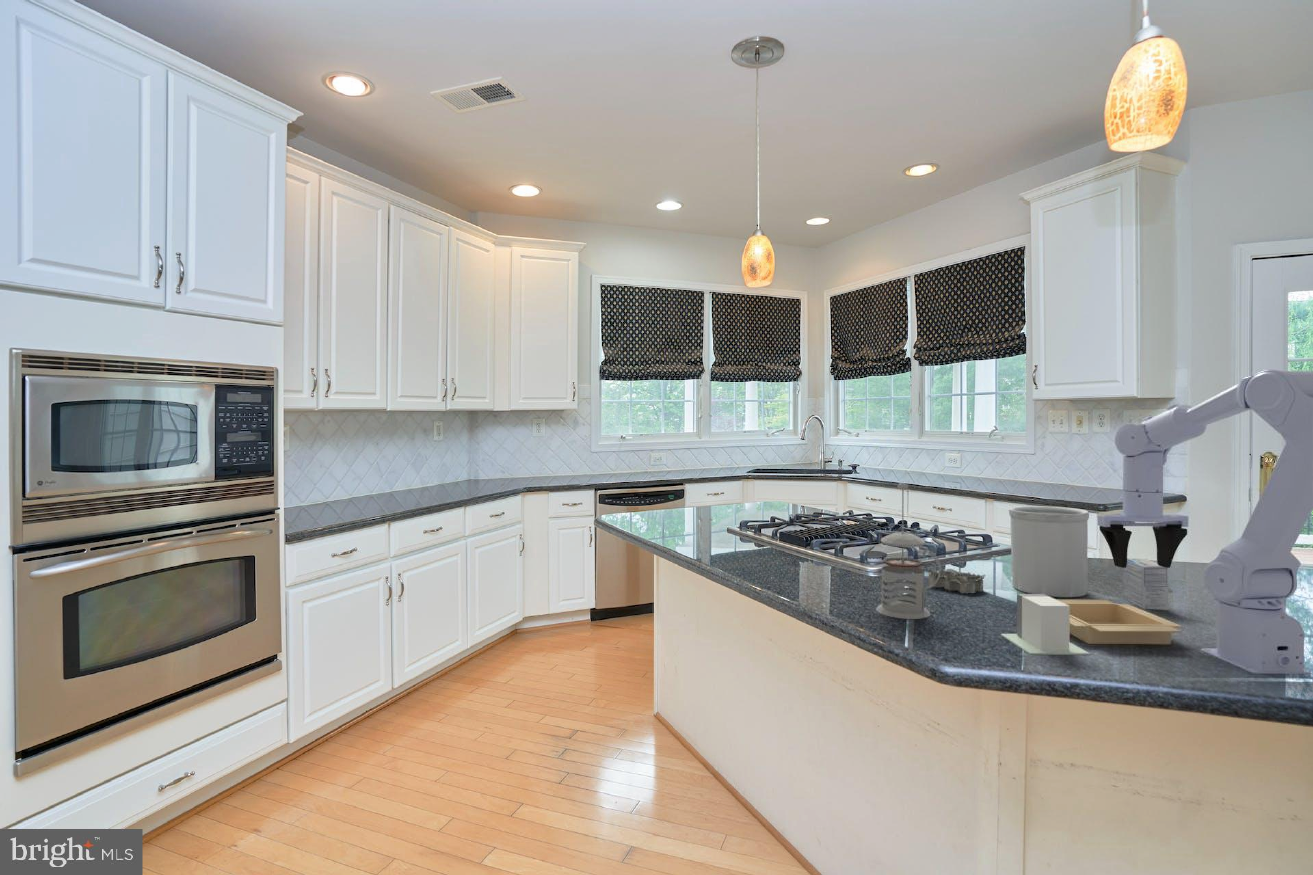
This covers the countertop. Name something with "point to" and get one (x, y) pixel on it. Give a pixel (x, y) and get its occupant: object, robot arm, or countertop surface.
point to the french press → (904, 577)
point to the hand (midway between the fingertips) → (1142, 566)
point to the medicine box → (1145, 584)
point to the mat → (1034, 650)
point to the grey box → (1043, 621)
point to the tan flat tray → (1117, 623)
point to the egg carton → (957, 580)
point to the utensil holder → (1049, 550)
